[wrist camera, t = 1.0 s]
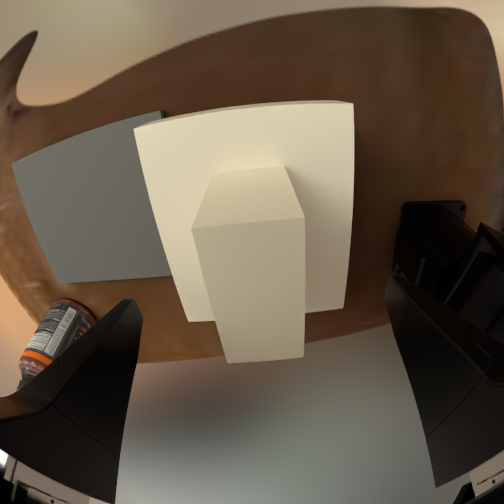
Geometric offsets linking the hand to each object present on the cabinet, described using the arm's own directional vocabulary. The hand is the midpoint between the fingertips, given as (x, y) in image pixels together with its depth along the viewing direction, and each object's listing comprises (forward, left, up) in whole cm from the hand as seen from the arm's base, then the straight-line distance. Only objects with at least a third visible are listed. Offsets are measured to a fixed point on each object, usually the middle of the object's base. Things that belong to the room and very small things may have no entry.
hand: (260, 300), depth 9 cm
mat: (+12, 0, -11) cm, 16 cm away
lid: (0, 0, -7) cm, 7 cm away
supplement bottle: (+20, +11, -11) cm, 25 cm away
